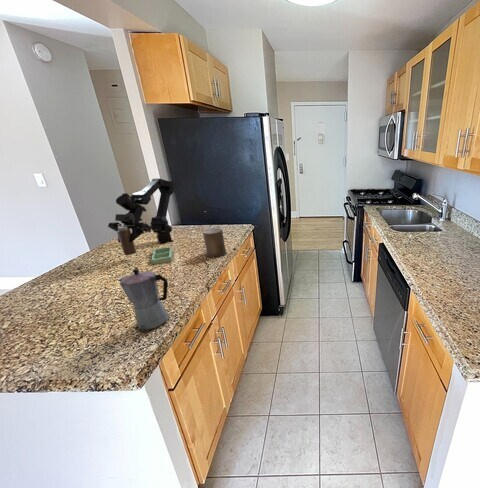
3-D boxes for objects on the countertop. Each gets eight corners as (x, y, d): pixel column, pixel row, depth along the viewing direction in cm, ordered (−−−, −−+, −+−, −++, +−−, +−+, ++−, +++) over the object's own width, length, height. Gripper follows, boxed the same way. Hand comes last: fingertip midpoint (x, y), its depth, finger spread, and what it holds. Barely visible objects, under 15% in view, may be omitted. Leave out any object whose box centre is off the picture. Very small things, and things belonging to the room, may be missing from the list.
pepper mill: (138, 250, 136) (130, 225, 130) (134, 254, 131) (126, 228, 126) (126, 251, 134) (118, 226, 129) (122, 255, 130) (114, 229, 124)
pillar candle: (229, 253, 142) (225, 227, 137) (211, 259, 136) (207, 232, 130) (220, 249, 149) (216, 224, 143) (203, 254, 142) (198, 228, 136)
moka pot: (139, 314, 92) (123, 263, 85) (184, 312, 94) (172, 262, 86) (122, 332, 84) (103, 277, 76) (172, 329, 85) (157, 275, 77)
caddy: (155, 254, 142) (153, 249, 141) (172, 251, 146) (171, 246, 145) (152, 265, 129) (151, 260, 128) (171, 262, 133) (170, 256, 132)
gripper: (104, 206, 128) (92, 235, 122) (141, 207, 127) (131, 235, 121) (121, 217, 138) (111, 244, 132) (155, 217, 138) (147, 245, 132)
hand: (124, 242), depth 129 cm, fingers closed on pepper mill, 5 cm apart
